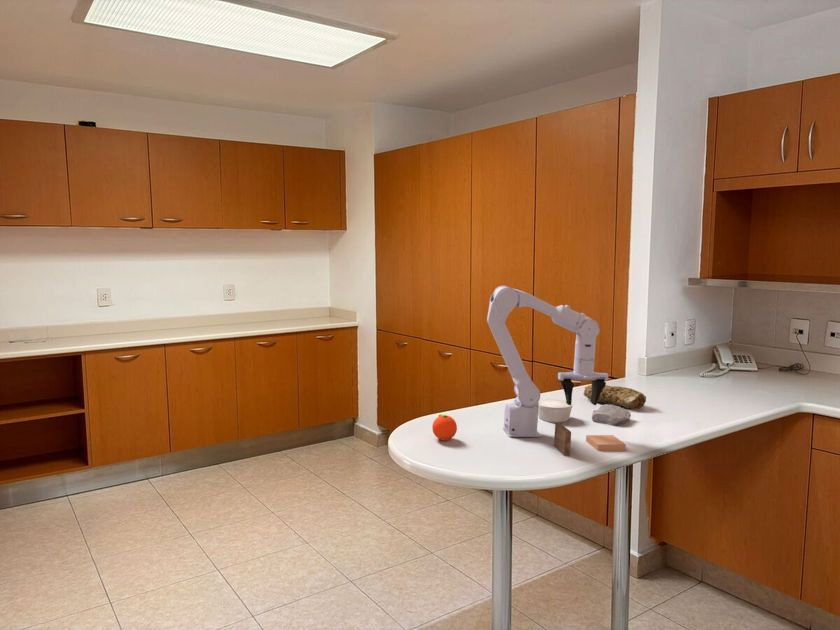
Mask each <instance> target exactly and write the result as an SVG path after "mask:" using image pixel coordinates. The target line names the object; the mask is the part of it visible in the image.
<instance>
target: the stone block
mask: <svg viewBox="0 0 840 630" xmlns="http://www.w3.org/2000/svg"><path fill="white" fill-rule="evenodd" d="M631 416H632V414H631V412H630V411H629V409H627V408H626V409H625V408H623V407H622V406H620V405H616V404H606V403H604V404H603V405H601V406H600V407H598V409H593V411H592V416H591V419H592V421H593V423H598V424H604V425H609V426H617V425H623V424H627V423H629V422H630V419H631Z"/></svg>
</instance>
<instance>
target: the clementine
mask: <svg viewBox="0 0 840 630" xmlns="http://www.w3.org/2000/svg"><path fill="white" fill-rule="evenodd" d="M431 428H432V432H433V434H434V436H435V438H437V439H438V440H441V441H449V440H451V439H452V438H454V437H455V435H456V433H457V431H458V425H457V423H456V420H455V419H454V418H453V417H452V416H450V415H447V414H439V415H438V416H437V417H436V418H435V419H434V421H433V423H432V427H431Z"/></svg>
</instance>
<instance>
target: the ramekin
mask: <svg viewBox="0 0 840 630" xmlns="http://www.w3.org/2000/svg"><path fill="white" fill-rule="evenodd" d="M538 403H539V407H538V419H540V420H542V421H544V422H548V423H553V424H555V423H561V424H562V423H565V422H567V421H569V419H570V416H571V412H572V409H573V404H572V403H571V405H568V404H567V403H566V400H563V399H556V398H546V399H545V398H544V399H540V400H539V401H538Z"/></svg>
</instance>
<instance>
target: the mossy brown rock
mask: <svg viewBox="0 0 840 630" xmlns="http://www.w3.org/2000/svg"><path fill="white" fill-rule="evenodd" d="M583 396H584V397H586V398H587V399H589V400H591V397H592V384H589V385H587V386H585V387H584V390H583ZM646 402H647V396H646V395H645V394H644V393H642V391H641V392H640V391H638V390H635V389H633V388H630V387H624V386H616V385H614V386H613V385H609V384H608V385H607V384H606V386H605V387H604V388H603V390H602V392H601V393H600V396H599V398H598V401H597V403H600V404H608V405H615V406H620V407H624V408H626V409H628V410H629V409H630V410H636V409H637V410H640V409H643V407H644V406H645V404H646Z"/></svg>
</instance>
